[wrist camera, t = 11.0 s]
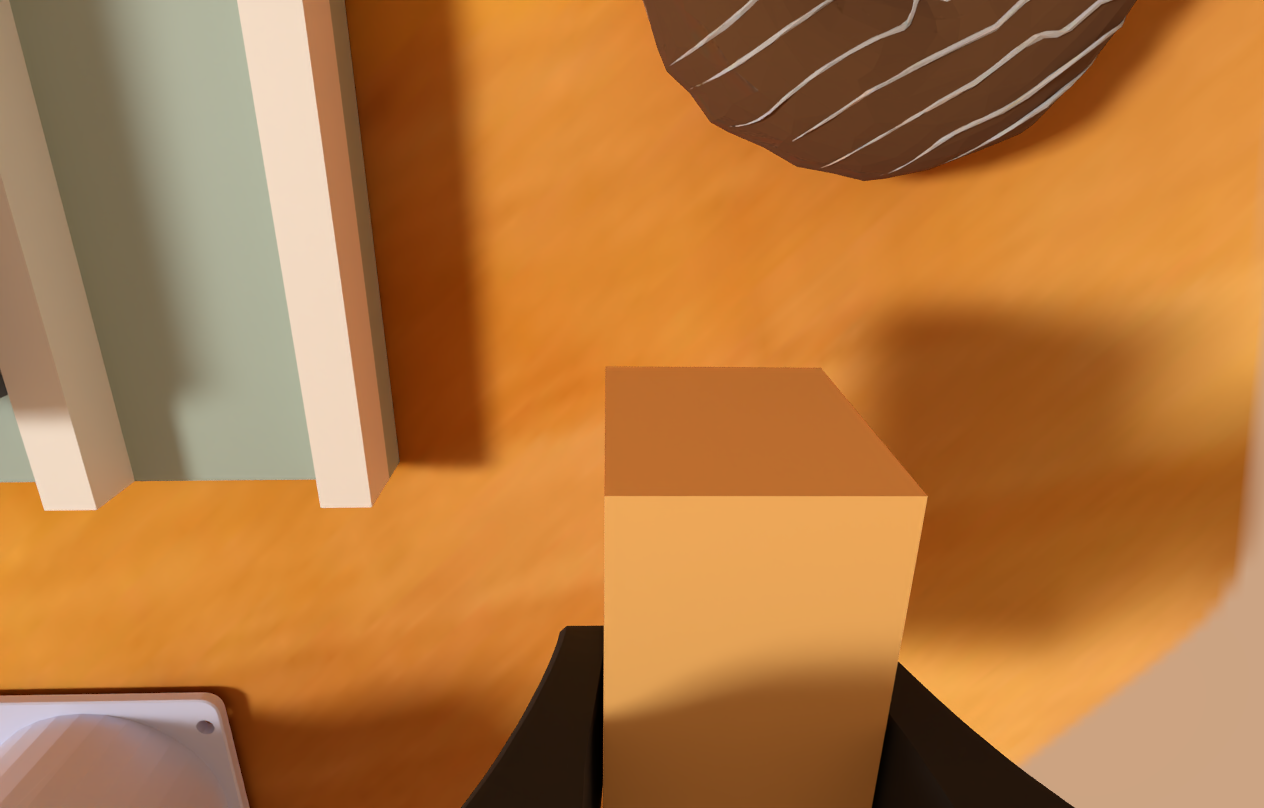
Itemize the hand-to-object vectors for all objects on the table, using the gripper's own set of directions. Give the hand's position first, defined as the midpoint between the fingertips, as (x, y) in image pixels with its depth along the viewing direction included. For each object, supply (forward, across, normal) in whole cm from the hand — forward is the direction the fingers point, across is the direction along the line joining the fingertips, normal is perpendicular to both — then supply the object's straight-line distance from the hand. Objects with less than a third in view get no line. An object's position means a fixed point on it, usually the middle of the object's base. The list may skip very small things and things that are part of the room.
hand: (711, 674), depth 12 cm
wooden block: (+2, 0, 0) cm, 2 cm away
